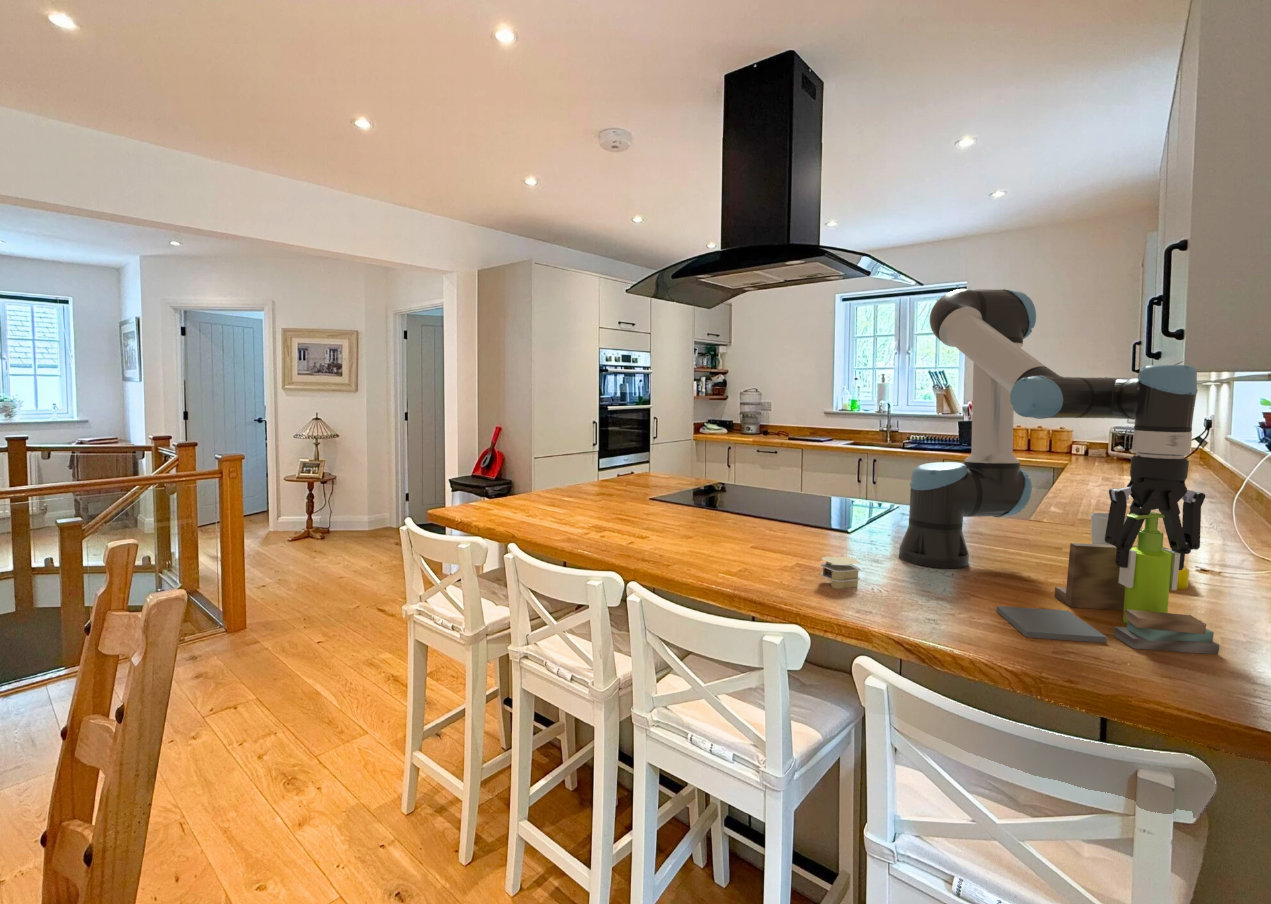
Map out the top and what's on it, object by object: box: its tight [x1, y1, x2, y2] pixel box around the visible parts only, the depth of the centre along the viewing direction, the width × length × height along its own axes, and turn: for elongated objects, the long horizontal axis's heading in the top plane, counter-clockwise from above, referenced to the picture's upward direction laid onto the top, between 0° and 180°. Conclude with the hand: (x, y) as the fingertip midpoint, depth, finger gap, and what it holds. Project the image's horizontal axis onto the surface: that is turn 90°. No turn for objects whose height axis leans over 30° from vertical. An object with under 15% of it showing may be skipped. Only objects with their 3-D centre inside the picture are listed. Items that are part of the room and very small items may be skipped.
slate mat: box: [995, 605, 1108, 644], centre depth 106 cm, size 12×12×1 cm
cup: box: [1090, 512, 1127, 545], centre depth 151 cm, size 8×8×10 cm
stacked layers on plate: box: [820, 556, 861, 590], centre depth 127 cm, size 10×9×6 cm
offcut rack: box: [1053, 542, 1220, 655], centre depth 107 cm, size 16×25×12 cm, turn 170°
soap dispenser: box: [1122, 511, 1172, 624], centre depth 106 cm, size 6×7×20 cm
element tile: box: [1177, 564, 1190, 590], centre depth 135 cm, size 15×15×5 cm
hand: (1146, 586), depth 106 cm, fingers closed on soap dispenser, 6 cm apart
